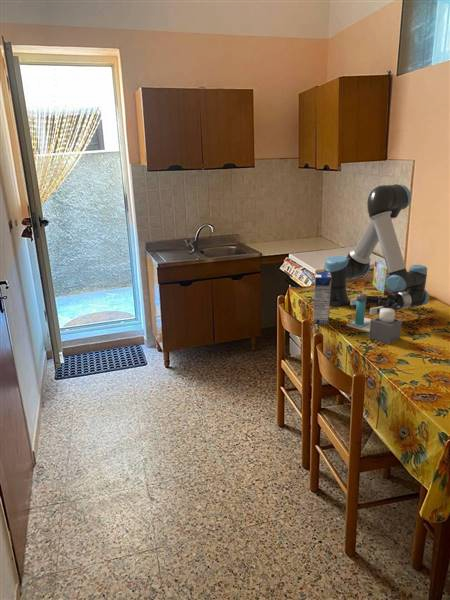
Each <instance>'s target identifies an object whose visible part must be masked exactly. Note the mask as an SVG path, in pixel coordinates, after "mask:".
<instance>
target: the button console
mask: <svg viewBox="0 0 450 600" xmlns="http://www.w3.org/2000/svg"><path fill="white" fill-rule="evenodd" d="M402 324H403V320H402V319H398V318H394V323H392V324H387V323H383V322H379V316H377V317H375V318H372V320H371V324H370V333H369V336H368V338H369V339H371V340H374V341H377V342H380V343H381V342H382V343H384V344H387V345H390V344H392V343H394V342H395V341H397V340H399V339H400V338H401V332H402Z"/></svg>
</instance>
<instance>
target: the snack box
mask: <svg viewBox="0 0 450 600" xmlns="http://www.w3.org/2000/svg"><path fill="white" fill-rule="evenodd" d="M389 277H390V276H389V272H388V269H387V266H386V262H385V259H384V260H383V259H381V260H380V259H375V260H374V267H373V276H372V282H371V283H372V286H373V287H375V288H376V289H377V290H378V292H380V293H381V294H382V295H386V296H388V295H389V294H393V293H394V292H393V291H391V290H390V289H389V288H388V286H387V279H388V278H389Z"/></svg>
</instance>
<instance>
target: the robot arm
mask: <svg viewBox="0 0 450 600" xmlns="http://www.w3.org/2000/svg"><path fill="white" fill-rule="evenodd" d="M411 201H412V195H411V191H410V189H409V188H408V187H407V186H406V185H404V184H399V183H396V184H387V185H383V184H382V185H378V186H376V187H375V188H373V189H372V191H370V193H369V195H368V197H367V203H366V206H367V213H368V217H369V222H368V224H367V226H366V227H365V230H364V231H363V233H362V234H361V236H360V238H359V240H358V242H357V244H356V246H355V247H354V249H350V251H348V254H347V256H344V255H334V256H333V255H332V256H329V257H328V258H326V259H325V260H324V265H323V272H331V278H332V279H331V293H330V306H332V307H342V306H346V305H348V304H349V302H350V304H349V305H350V306H356V303H357V297H356V298H350V301H349V294H348V291H347V283H348V281H350V280H354V279H360V278H362V277H364V276H366V275H367V274H368V273H369V272H370V269H371V265H370V264H371V255H372V254H373V252H374V250H375V248H376V247H377V245H378V244H379V245H380V248H381V252H382V255H383V259H384V261H385V262H386V266H387V269H388V272H389V276H390V277H389V278H388V279H387V286H388V288H389V289H390V290H391V291H393V292H392V294H389V295H386V297H385V296H383V297H382V295H367V300H366V304H372V305H373V304H375V305H376V306H375V307H370V308H369V315H375V314H376V315H377V314H379V313H380V309H381V308H390V309H393V310H395V312H396V311H399V310H400V309H401V310H404V309H407V308H414V307H421V306H425V305H426V304H428V303H429V301H430V296H429V292H428V291H427V290H426V283H427V277H428V268H427V267H426V266H425V265H421V264H412V265H410V267H409V269H408V271H407V268H406V265H405V262H404V257H403V255H402V250H401V247H400V244H399V241H398V237H397V234H396V230H395V227H394V223H393V221H392V220H393V219H396V218H398V217H399V216H398V215H399V214H400V212H401V211H402V210H405V209H406V208H407V207H409V205H410V203H411ZM406 289H407V292H401V291H403V290H406Z"/></svg>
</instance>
